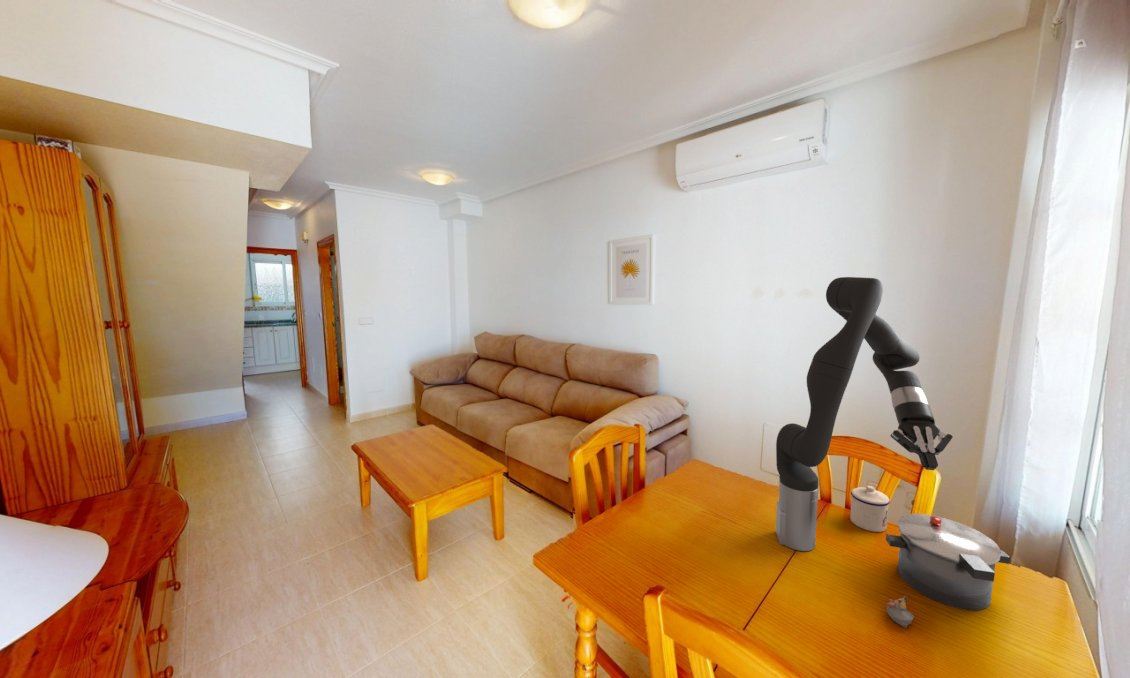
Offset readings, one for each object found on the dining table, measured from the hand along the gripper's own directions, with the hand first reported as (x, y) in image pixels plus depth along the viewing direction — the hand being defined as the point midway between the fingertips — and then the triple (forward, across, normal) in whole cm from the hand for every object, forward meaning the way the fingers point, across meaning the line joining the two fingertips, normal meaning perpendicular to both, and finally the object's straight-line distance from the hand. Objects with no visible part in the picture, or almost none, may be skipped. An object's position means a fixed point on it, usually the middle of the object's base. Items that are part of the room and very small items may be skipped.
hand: (931, 468), depth 98 cm
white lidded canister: (+7, -7, +29) cm, 30 cm away
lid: (+17, 0, +2) cm, 17 cm away
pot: (+24, 0, +12) cm, 26 cm away
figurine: (+34, -14, +1) cm, 37 cm away
